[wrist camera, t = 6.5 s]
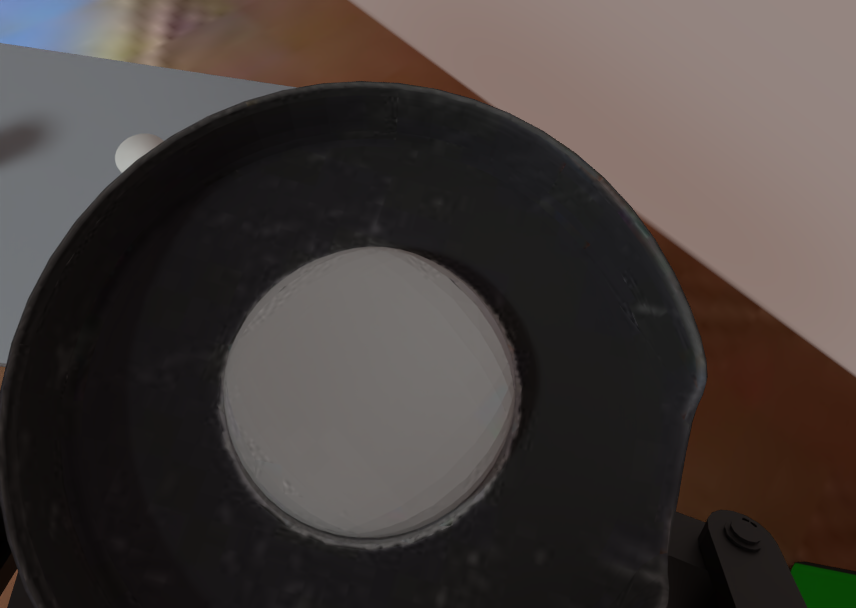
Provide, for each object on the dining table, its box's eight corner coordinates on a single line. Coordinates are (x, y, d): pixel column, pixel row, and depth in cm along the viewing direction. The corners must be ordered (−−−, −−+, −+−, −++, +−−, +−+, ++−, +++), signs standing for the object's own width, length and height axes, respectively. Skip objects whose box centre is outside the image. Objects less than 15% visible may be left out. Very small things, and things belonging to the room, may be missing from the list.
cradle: (-217, 337, 24) (-407, 291, 19) (-71, 47, 29) (-185, -62, 24) (238, 397, 25) (193, 371, 19) (305, 103, 30) (286, 11, 24)
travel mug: (268, 416, 25) (-105, 204, 6) (421, 345, 26) (512, -5, 7) (337, 584, 23) (113, 1054, 4) (497, 497, 25) (876, 546, 6)
